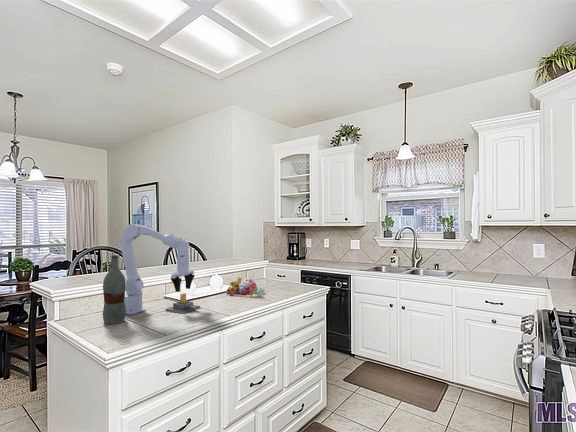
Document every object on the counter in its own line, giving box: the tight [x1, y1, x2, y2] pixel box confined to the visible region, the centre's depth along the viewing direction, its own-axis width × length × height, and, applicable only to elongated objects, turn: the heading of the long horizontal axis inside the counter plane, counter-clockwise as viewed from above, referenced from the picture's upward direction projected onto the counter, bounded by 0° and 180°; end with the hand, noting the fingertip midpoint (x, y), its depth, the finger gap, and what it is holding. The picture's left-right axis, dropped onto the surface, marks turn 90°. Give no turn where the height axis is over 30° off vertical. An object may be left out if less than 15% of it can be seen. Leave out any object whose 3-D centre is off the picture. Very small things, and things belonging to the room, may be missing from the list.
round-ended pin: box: [179, 292, 187, 304], centre depth 170 cm, size 3×3×7 cm
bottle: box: [102, 255, 127, 326], centre depth 150 cm, size 9×9×30 cm
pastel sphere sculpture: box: [225, 276, 266, 298], centre depth 209 cm, size 25×24×9 cm
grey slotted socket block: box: [165, 300, 201, 315], centre depth 170 cm, size 12×14×4 cm
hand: (182, 290), depth 171 cm, fingers open, 7 cm apart
